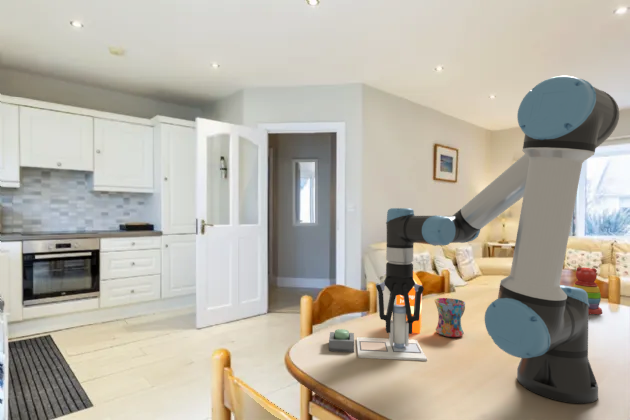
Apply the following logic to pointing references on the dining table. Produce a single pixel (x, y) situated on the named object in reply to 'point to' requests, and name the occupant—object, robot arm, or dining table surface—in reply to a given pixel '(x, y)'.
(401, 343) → the cylinder
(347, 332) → the button
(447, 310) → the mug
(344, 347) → the button housing
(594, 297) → the stacking bear
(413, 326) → the orange juice
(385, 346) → the sheet
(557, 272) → the robot arm
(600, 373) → the dining table surface
